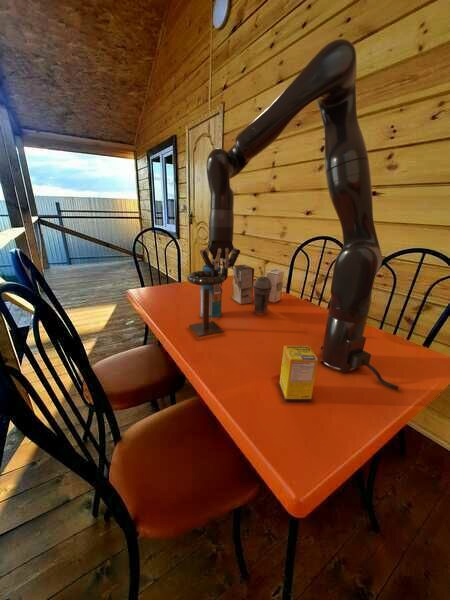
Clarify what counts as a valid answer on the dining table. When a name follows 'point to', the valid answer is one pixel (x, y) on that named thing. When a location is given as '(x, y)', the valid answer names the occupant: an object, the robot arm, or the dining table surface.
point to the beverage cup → (261, 293)
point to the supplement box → (298, 373)
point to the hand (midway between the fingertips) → (219, 279)
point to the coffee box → (243, 284)
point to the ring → (205, 278)
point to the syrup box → (275, 284)
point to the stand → (205, 319)
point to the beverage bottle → (212, 297)
